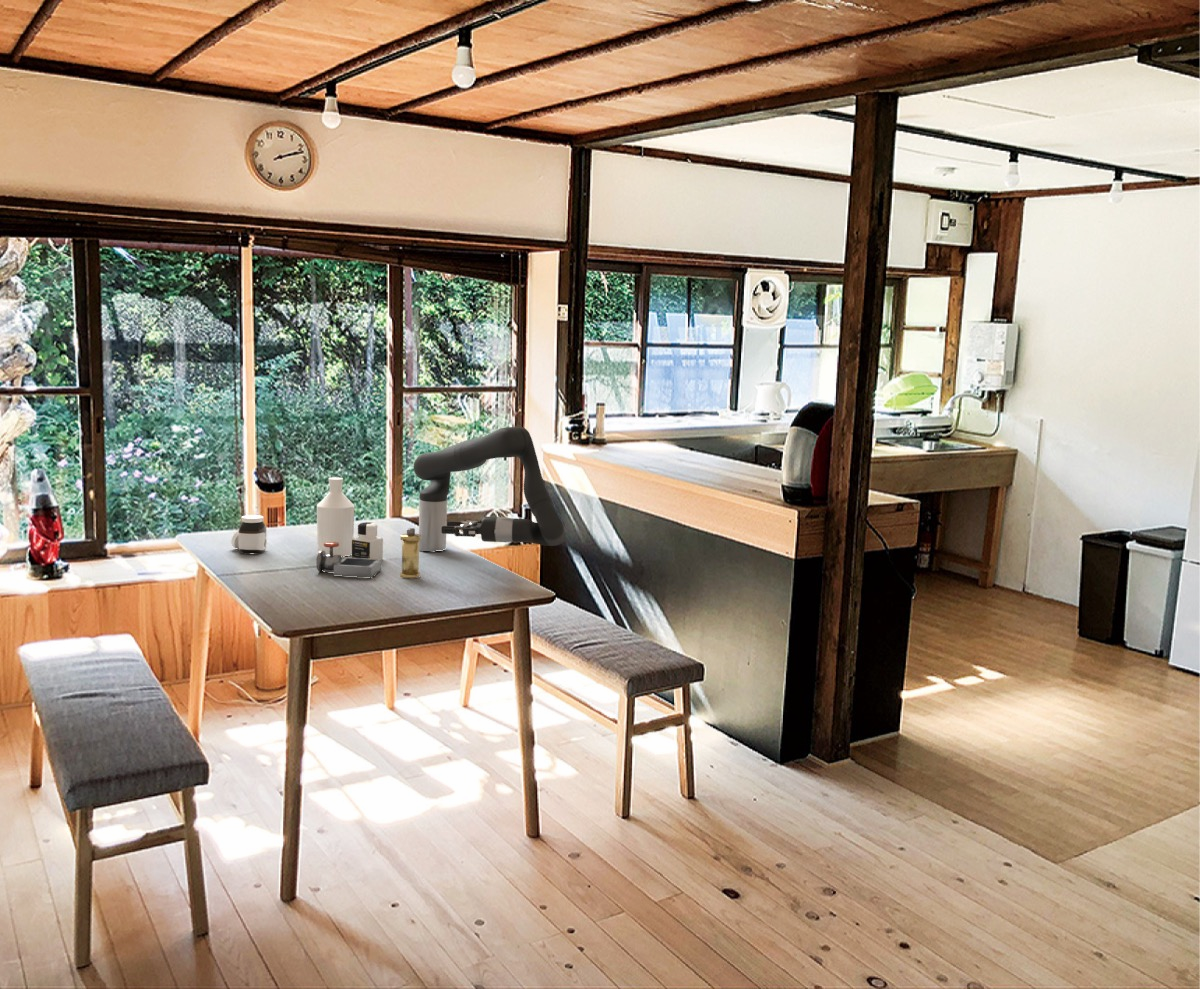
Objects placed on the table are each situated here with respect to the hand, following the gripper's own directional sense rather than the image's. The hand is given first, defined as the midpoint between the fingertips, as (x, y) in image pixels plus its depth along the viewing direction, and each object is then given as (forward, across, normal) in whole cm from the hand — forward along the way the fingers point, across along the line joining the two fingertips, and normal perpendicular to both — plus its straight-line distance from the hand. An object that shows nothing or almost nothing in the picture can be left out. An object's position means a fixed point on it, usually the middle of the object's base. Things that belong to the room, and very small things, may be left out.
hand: (444, 527), depth 318 cm
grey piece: (+29, 0, +15) cm, 33 cm away
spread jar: (+69, -22, +15) cm, 74 cm away
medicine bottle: (+29, -19, +15) cm, 38 cm away
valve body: (+10, 0, +16) cm, 19 cm away
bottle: (+41, -25, +15) cm, 50 cm away
